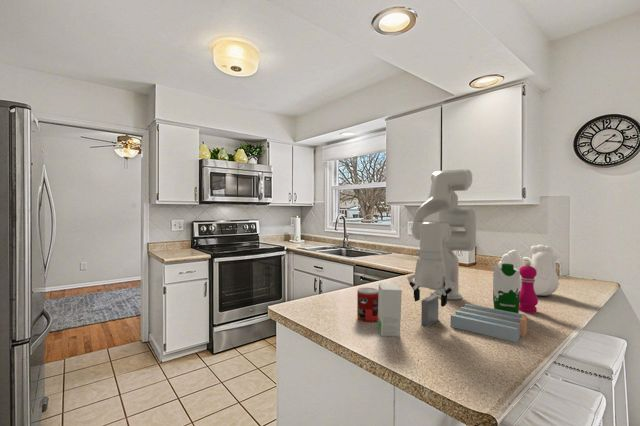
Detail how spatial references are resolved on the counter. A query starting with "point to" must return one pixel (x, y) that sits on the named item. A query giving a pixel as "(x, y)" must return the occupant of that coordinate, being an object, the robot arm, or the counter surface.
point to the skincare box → (389, 309)
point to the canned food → (367, 304)
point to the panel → (429, 310)
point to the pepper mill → (528, 289)
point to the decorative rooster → (537, 267)
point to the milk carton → (506, 288)
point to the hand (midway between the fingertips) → (429, 303)
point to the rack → (490, 322)
